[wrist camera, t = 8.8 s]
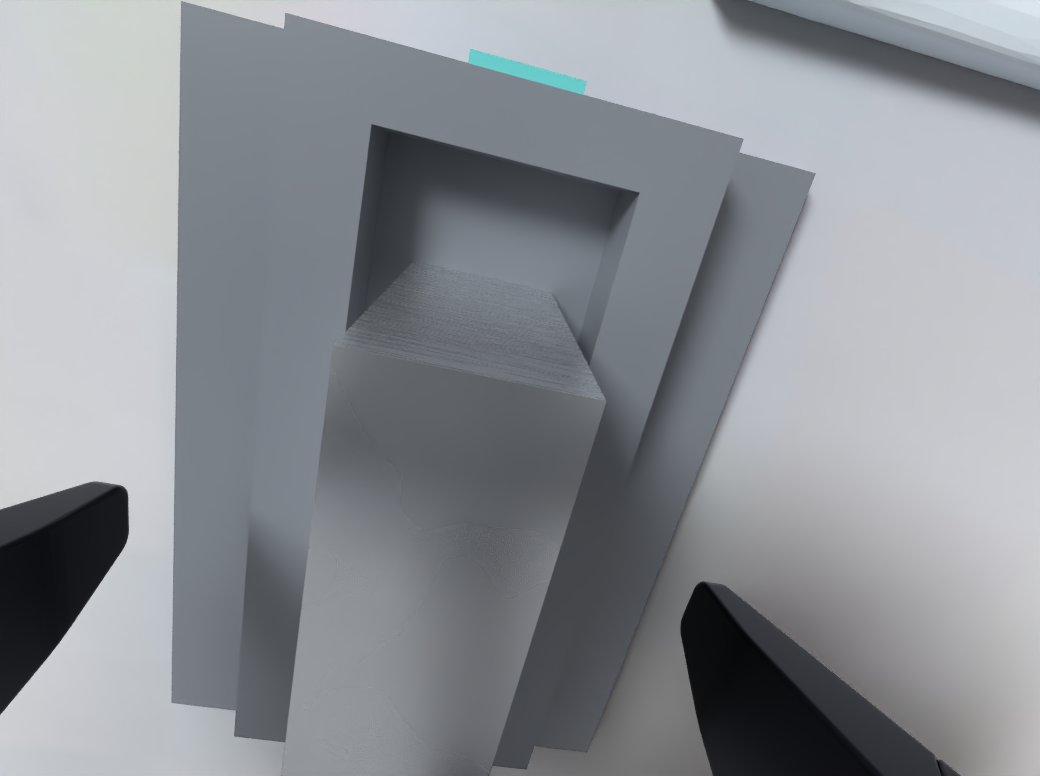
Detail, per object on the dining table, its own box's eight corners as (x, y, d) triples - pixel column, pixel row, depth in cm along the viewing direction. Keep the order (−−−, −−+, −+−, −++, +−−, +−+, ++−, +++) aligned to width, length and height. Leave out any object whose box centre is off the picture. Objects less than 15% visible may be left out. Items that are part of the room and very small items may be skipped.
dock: (584, 733, 14) (596, 807, 13) (183, 683, 13) (137, 758, 11) (804, 161, 9) (872, 157, 8) (199, -5, 8) (123, -51, 6)
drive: (464, 638, 12) (446, 921, 8) (352, 622, 12) (262, 907, 7) (553, 292, 10) (611, 402, 5) (411, 259, 9) (326, 343, 5)
